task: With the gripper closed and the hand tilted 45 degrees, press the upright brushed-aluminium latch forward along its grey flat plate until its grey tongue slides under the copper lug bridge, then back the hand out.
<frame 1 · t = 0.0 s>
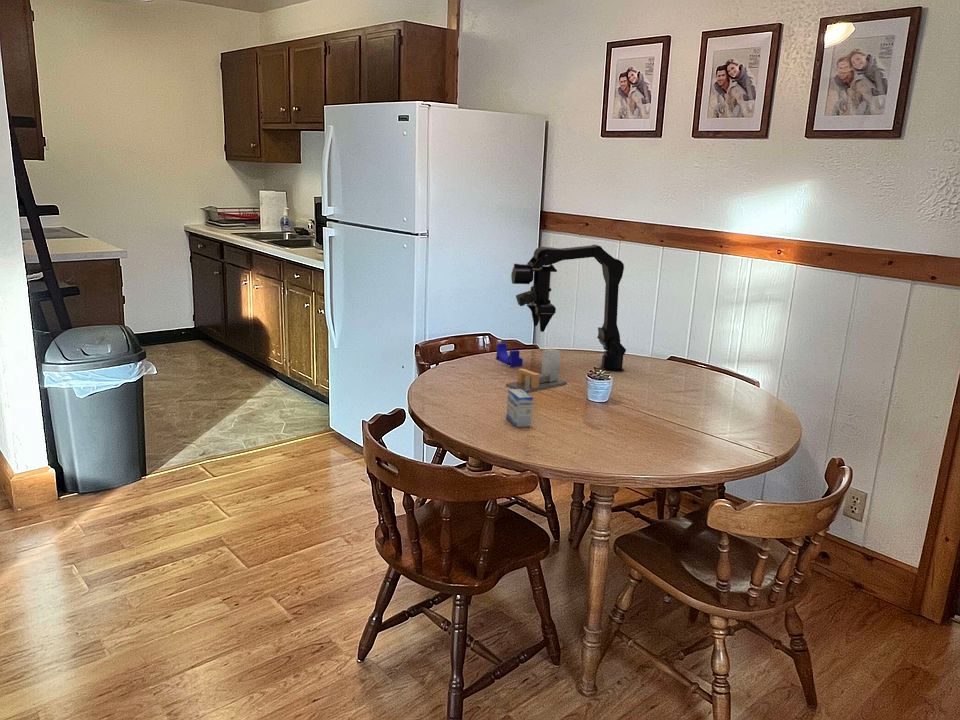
hand: (538, 328, 260), 15 cm above the table, tool pointing down, fingers open, 9 cm apart
cable clip: (509, 363, 271), on the table
latch: (544, 366, 245), point 6 cm above the table, slide at 0.0 cm
lug: (528, 378, 242), on the grey flat plate, point 3 cm above the table
grey flat plate: (549, 382, 249), on the table
medicine box: (518, 423, 209), on the table
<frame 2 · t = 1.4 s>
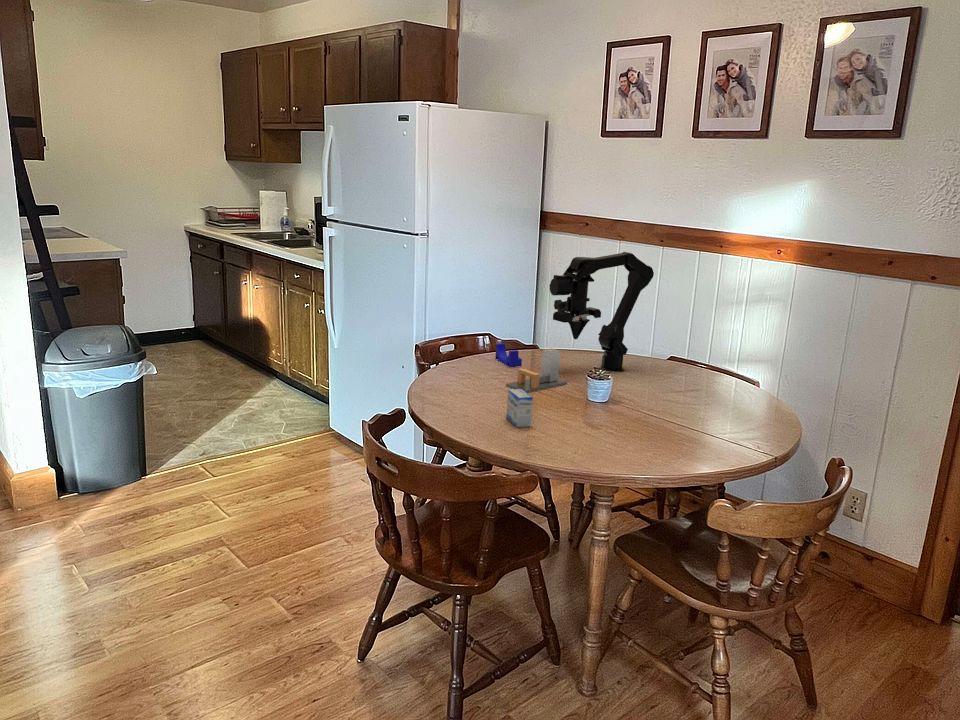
hand: (575, 339, 259), 12 cm above the table, tool pointing down, fingers closed
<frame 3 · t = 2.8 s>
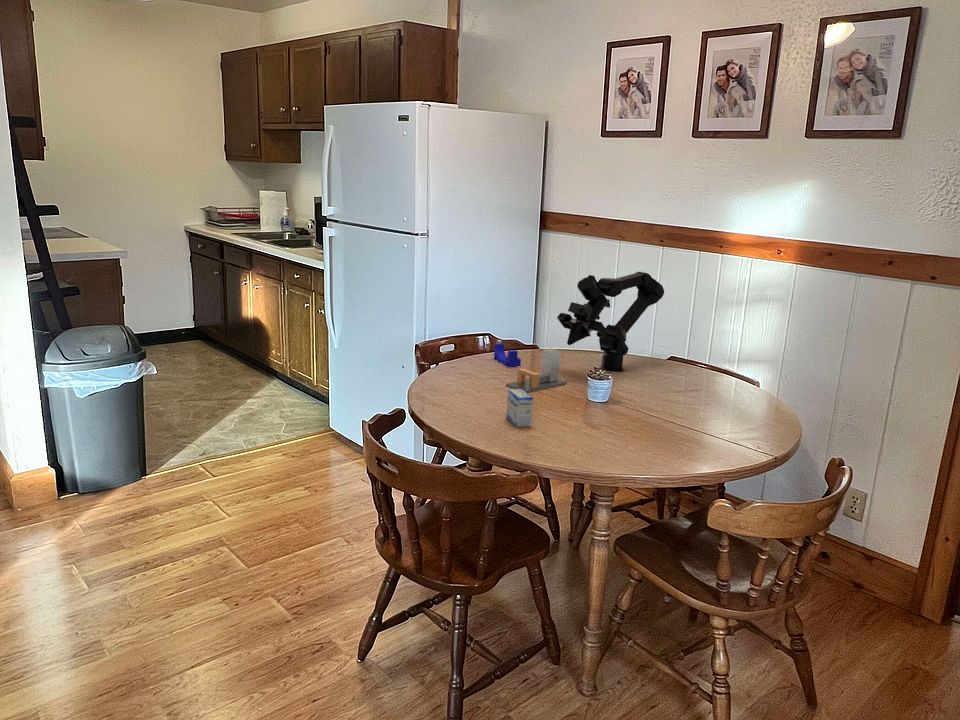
hand: (568, 344, 251), 12 cm above the table, tool tilted 45°, fingers closed
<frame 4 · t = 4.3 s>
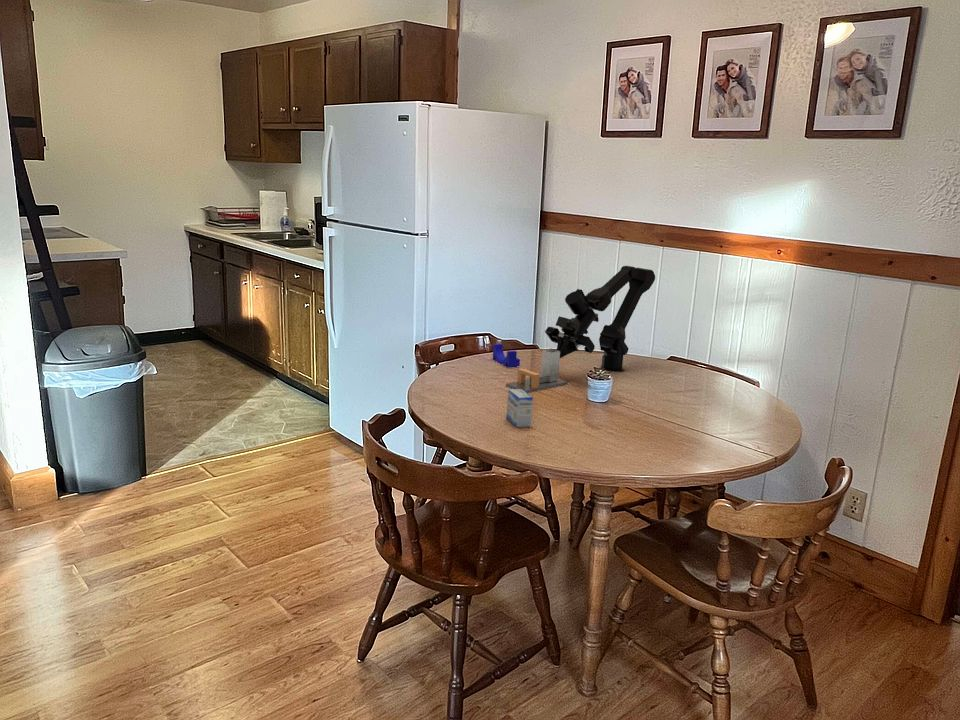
hand: (555, 358, 248), 8 cm above the table, tool tilted 45°, fingers closed, pressing on latch
latch: (544, 366, 245), point 6 cm above the table, slide at 0.1 cm, touching gripper
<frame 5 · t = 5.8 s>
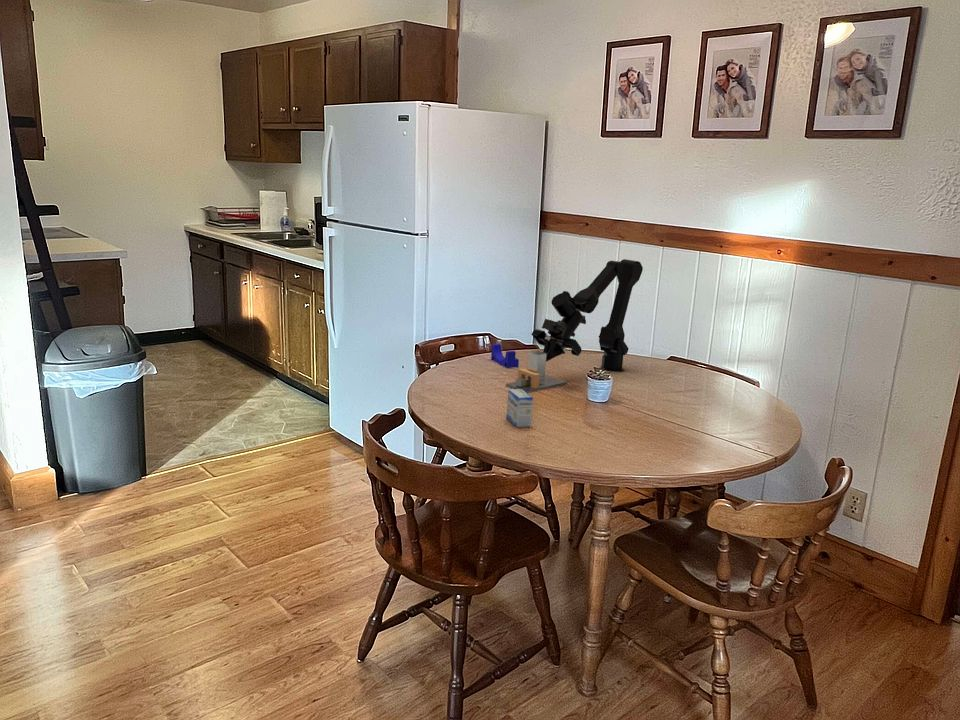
hand: (542, 362, 244), 8 cm above the table, tool tilted 45°, fingers closed
latch: (530, 369, 241), point 6 cm above the table, slide at 6.5 cm
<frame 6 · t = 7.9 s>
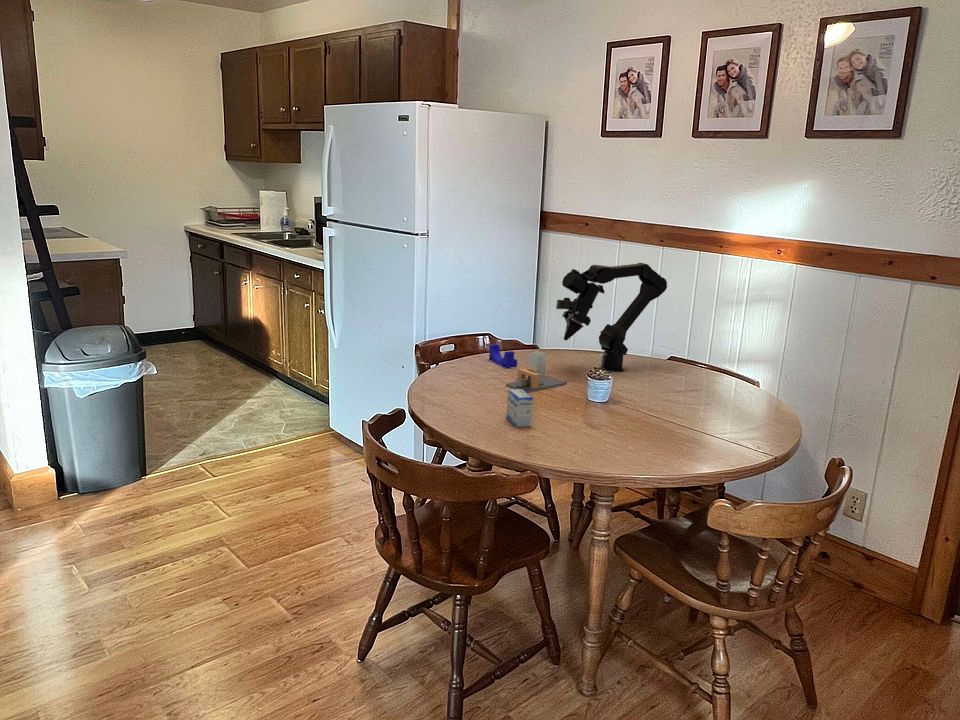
hand: (564, 340, 257), 12 cm above the table, tool tilted 25°, fingers closed
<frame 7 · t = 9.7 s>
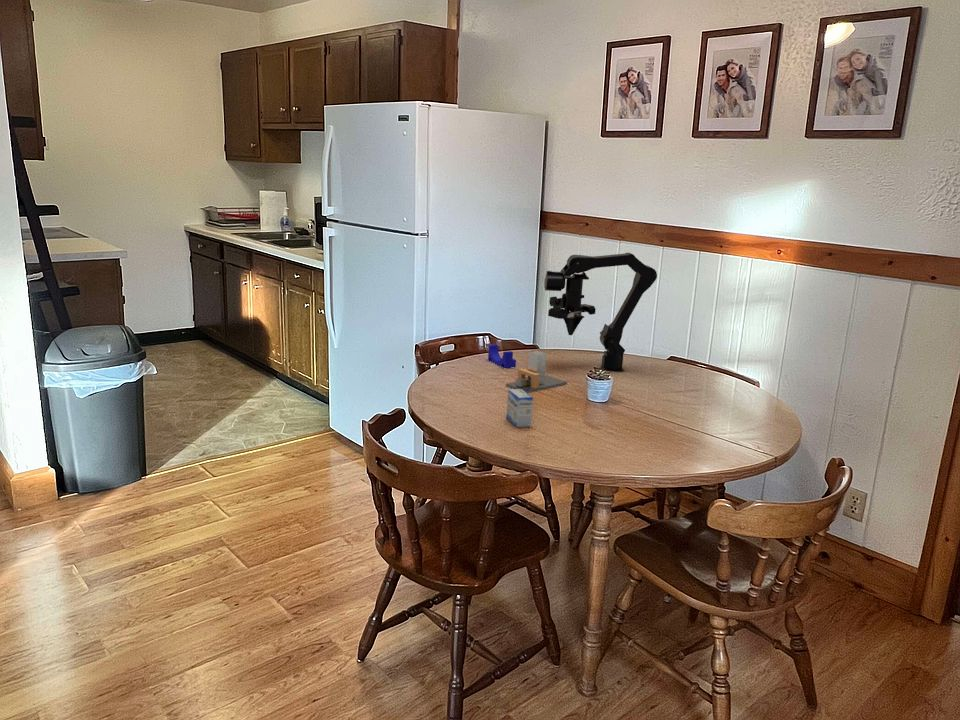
hand: (570, 335, 265), 12 cm above the table, tool pointing down, fingers closed
at the end: latch slide at 6.5 cm; the gripper is holding nothing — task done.
